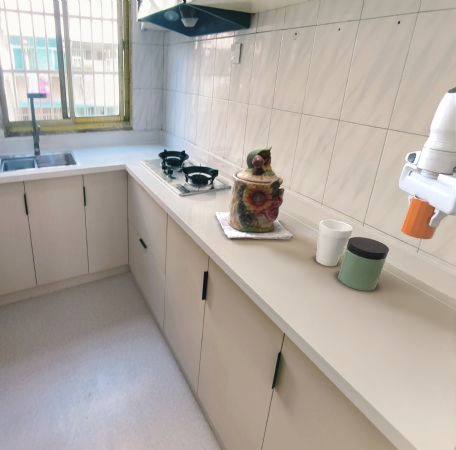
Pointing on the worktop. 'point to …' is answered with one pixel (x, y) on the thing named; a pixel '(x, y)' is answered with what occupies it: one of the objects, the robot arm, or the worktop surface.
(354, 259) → the jar
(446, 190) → the robot arm
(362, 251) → the jar lid
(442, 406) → the worktop surface
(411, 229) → the cup
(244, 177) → the cookie jar
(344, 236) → the foam cup
